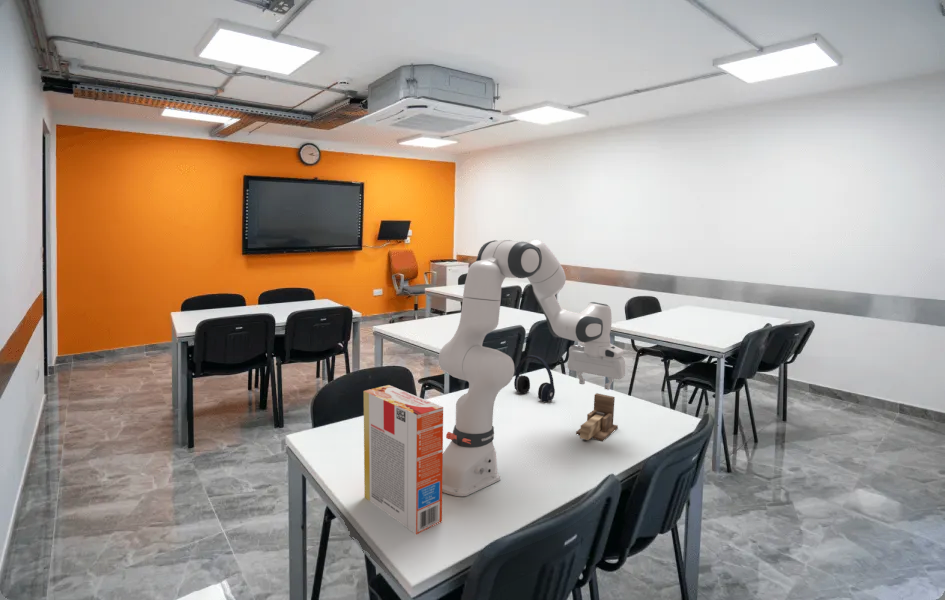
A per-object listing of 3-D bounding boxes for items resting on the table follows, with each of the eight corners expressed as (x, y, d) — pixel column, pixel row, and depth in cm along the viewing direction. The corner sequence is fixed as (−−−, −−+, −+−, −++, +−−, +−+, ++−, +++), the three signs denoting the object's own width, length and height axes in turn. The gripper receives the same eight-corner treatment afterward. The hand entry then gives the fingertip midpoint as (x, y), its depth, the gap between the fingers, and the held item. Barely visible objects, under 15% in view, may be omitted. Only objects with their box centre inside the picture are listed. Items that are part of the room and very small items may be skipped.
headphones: (511, 392, 232) (512, 353, 229) (521, 389, 237) (523, 350, 234) (546, 404, 217) (547, 362, 215) (556, 401, 222) (558, 359, 219)
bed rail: (588, 440, 180) (588, 425, 179) (579, 438, 181) (580, 423, 180) (603, 427, 191) (604, 413, 191) (596, 425, 193) (596, 411, 192)
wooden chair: (602, 441, 181) (604, 408, 180) (576, 434, 187) (577, 402, 185) (617, 428, 194) (619, 397, 192) (592, 421, 199) (593, 391, 197)
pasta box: (441, 521, 130) (443, 407, 126) (416, 534, 125) (416, 414, 121) (389, 487, 147) (389, 384, 143) (364, 497, 141) (363, 390, 137)
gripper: (565, 345, 185) (563, 382, 187) (621, 354, 173) (619, 394, 175) (573, 342, 190) (571, 379, 192) (628, 351, 178) (625, 390, 180)
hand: (594, 386), depth 184 cm, fingers open, 8 cm apart
